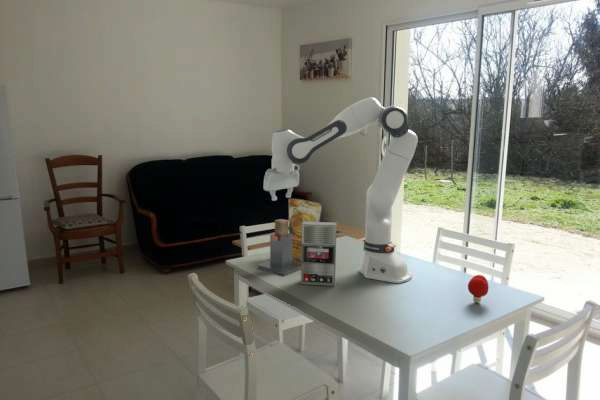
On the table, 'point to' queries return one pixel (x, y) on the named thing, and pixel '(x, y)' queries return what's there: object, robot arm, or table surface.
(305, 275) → the cassette tape recorder
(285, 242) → the stand
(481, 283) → the light bulb
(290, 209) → the pancake mix bag
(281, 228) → the post
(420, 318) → the table surface
